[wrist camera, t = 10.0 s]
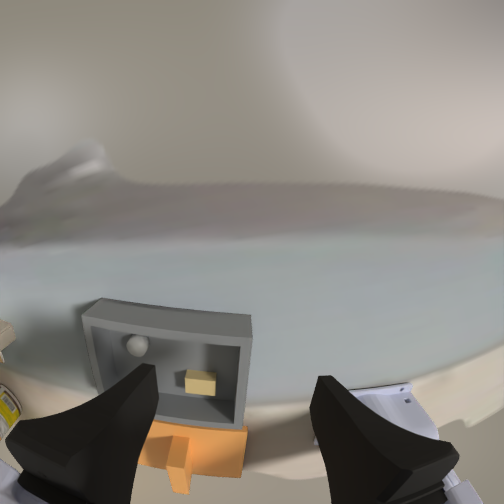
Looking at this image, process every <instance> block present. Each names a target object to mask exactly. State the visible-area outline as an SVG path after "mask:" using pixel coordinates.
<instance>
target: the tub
mask: <svg viewBox="0 0 504 504" xmlns="http://www.w3.org/2000/svg"><path fill="white" fill-rule="evenodd" d="M81 316H82V323H83V329H84V334H85V340H86V345H87V350H88V354H89V359H90V363H91V368H92V372H93V376H94V380H95V383H96V387H97V391H98V394H99V395H100V394H102V393H103V392H105V391H106V390H108V389H109V388H111V387H112V386H113V385H115V384H116V383H117V382H119V381H120V380H121V379H123V378H124V377H125V376H127V375H128V374H129V373H130V372H132V371H133V370H134V369H135V368H136V367H138V366H139V365H140V364H142V363H146V364H152V365H155V367H156V376H157V385H158V393H159V401H158V406H157V410H156V414H155V417H154V419H155V420H161V421H166V422H172V423H179V424H186V425H194V426H202V427H212V428H224V429H240V430H242V427H243V419H244V410H245V401H246V393H247V384H248V375H249V366H250V357H251V348H252V339H253V336H252V323H251V315H246V314H232V313H220V312H209V311H199V310H189V309H180V308H171V307H163V306H155V305H147V304H140V303H133V302H126V301H119V300H113V299H106V298H101V299H100V300H99V301H98V302H96V303H95V304H94V305H93V306H92V307H90V308H89V309H88V310H87V311H86V312H84V313H83V314H82V315H81Z"/></svg>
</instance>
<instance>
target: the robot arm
mask: <svg viewBox="0 0 504 504" xmlns="http://www.w3.org/2000/svg"><path fill="white" fill-rule="evenodd" d="M412 387H413V385H412V383H404V384H398V385H392V386H385V387H378V388H369V389H360V390H350V391H348V390H347V389H346V388H345V387H344V386H343V385H341V384H340V383H339V382H338V381H337V380H336V379H335V378H334V377H333V376H331V375H329V376H318V380H317V383H316V387H315V390H314V394H313V397H312V401H311V404H310V407H309V408H310V415H311V421H312V426H313V429H314V432H315V435H316V436H315V439H314V444H315V445H319V448H320V451H321V454H322V457H323V460H324V463H325V467H326V471H327V476H328V482H329V488H330V494H331V503H332V504H483V502H482V500H481V499H480V498H479V496H478V494H477V493H476V491H475V489H474V488H473V486H472V485H471V483H470V482H469V480H465V481H463V482H461V481H460V480H459V478H458V477H457V475H456V473H455V472H454V470H453V468H454V466H455V465H456V463H457V462H458V460H459V454H458V452H457V451H456V450H455V448H454V447H453V445H452V444H451V443H450V442H446V441H441V440H439V435H438V430H437V428H436V425H435V424H434V422H433V421H432V419H431V418H430V417H429V415H428V414H427V413H426V411H425V410H424V409H423V407H422V406H421V405H420V403H419V402H418V401H417V400H416V398H415V397H414V396H413V394H412V393H411V389H412ZM158 401H159V393H158V385H157V376H156V367H155V365H152V364H146V363H142V364H140V365H139V366H138V367H136V368H135V369H134V370H133V371H132V372H130V373H129V374H128V375H127V376H125V377H124V378H123V379H121V380H120V381H119V382H117V383H116V384H115V385H113V386H112V387H111V388H109V389H108V390H106V391H105V392H103V393H102V394H100V395H99V396H97V397H95V398H93V399H92V400H90V401H88V402H86V403H84V404H82V405H80V406H77V407H75V408H72V409H70V410H67V411H64V412H61V413H58V414H55V415H51V416H47V417H42V418H37V419H29V420H20V421H19V422H18V423H17V424H16V426H15V427H14V428H13V430H12V431H11V432H10V434H9V435H8V436H7V437H6V439H5V442H6V446H7V448H8V449H9V451H10V452H11V454H12V455H13V457H14V458H15V459H16V461H17V462H18V463H19V464H20V466H21V467H22V468H23V469H24V470H23V472H22V473H21V474H20V473H19V472H18V471H17V470H16V469H14V468H13V467H12V466H10V465H8V464H7V463H6V462H4V461H3V460H1V459H0V504H130V501H131V494H132V488H133V482H134V478H135V473H136V468H137V464H138V460H139V457H140V453H141V451H142V448H143V445H144V443H145V440H146V438H147V435H148V433H149V430H150V428H151V425H152V422H153V420H154V417H155V414H156V410H157V406H158Z"/></svg>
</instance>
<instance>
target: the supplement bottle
mask: <svg viewBox="0 0 504 504" xmlns="http://www.w3.org/2000/svg"><path fill="white" fill-rule="evenodd" d="M21 412H22V409H21V406H20V404H19V402H18V400H17V399H16V397H15V396H14V395H13V394H12V392H11V391H10V390H8V389H7V388H6V387H5V386H3V385H1V384H0V441H1V440H2V438H3V437H4V435H5V434H6V433H7V431H8V430H9V429H10V427H11V426H12V425H13V424H14V422H15V421H16V420H17V419H18V417H19V416H20V415H21Z"/></svg>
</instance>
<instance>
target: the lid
mask: <svg viewBox="0 0 504 504" xmlns="http://www.w3.org/2000/svg"><path fill="white" fill-rule="evenodd" d="M247 433H248V428H247V426H243V427H242V430H240V429H224V428H212V427H202V426H194V425H186V424H179V423H172V422H166V421H161V420H155V419H154V420H153V422H152V425H151V428H150V430H149V433H148V435H147V438H146V440H145V443H144V445H143V448H142V451H141V453H140V457H139V460H138V464H141V465H146V466H150V467H155V468H160V469H166V470H167V471H168V475H169V478H170V482H171V486H172V489H173V492H175V493H181V494H189V490H190V481H191V475H192V474H198V475H206V476H217V477H232V478H241V473H242V467H243V460H244V454H245V447H246V440H247Z"/></svg>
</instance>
